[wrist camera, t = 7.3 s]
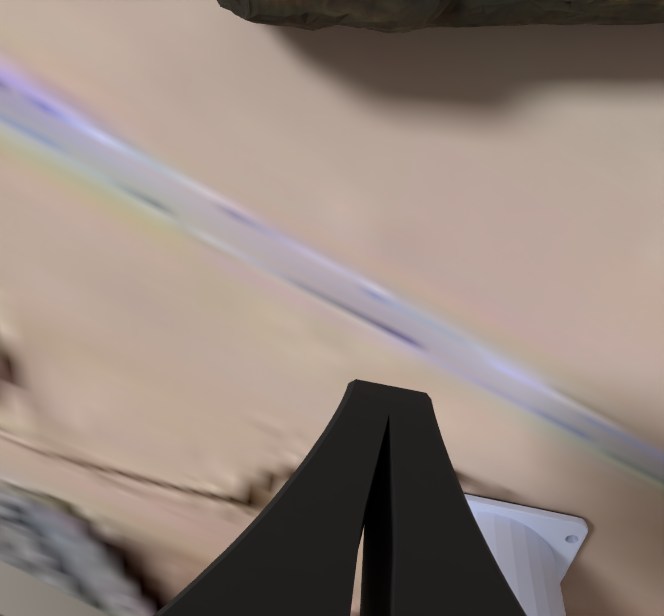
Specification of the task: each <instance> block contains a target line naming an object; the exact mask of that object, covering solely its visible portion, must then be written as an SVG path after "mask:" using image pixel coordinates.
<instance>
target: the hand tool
mask: <svg viewBox="0 0 664 616" xmlns="http://www.w3.org/2000/svg"><path fill="white" fill-rule="evenodd" d="M217 1H218V3H219V5H220V7H223V8H225V9H228V10H230V11H232V12H233V13H234V14H235V15H237V16H239V17H241V18H243V19H245V20H247V21H250V22H253V23H260V24H268V25H276V26H290V27H297V28H302V29H307V30H312V31H313V30H316V29H320V28H324V27H329V26H334V25H338V24H339V25H345V26H351V27H357V28H367V29H372V30H377V31H381V32H407V31H410V30H414V29H420V28H425V27H480V26H500V25H527V24H558V25H573V24H600V25H638V24H653V23H664V0H217Z"/></svg>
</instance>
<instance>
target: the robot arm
mask: <svg viewBox="0 0 664 616" xmlns="http://www.w3.org/2000/svg"><path fill="white" fill-rule="evenodd" d="M363 528H364V541H363V562H362V583H361V604H360V616H566V612H565V607H564V602H563V597H562V592H561V587H560V583H561V581H562V579H563V577H564V576H565V574H566V572H567V570H568V568H569V566H570V565H571V563H572V561H573V559H574V557H575V555H576V554H577V552H578V550H579V548H580V546H581V545H582V543H583V541H584V539H585V537H586V535H587V534H588V527H587V524H586V522H585V521H584V520H583V519H581V518H578V517H574V516H569V515H564V514H560V513H555V512H550V511H545V510H540V509H535V508H530V507H525V506H521V505H516V504H511V503H506V502H501V501H496V500H491V499H487V498H482V497H477V496H472V495H467V494H464V493H463V491H462V488H461V486H460V483H459V481H458V479H457V476H456V474H455V471H454V469H453V466H452V464H451V461H450V459H449V456H448V453H447V450H446V448H445V445H444V442H443V439H442V436H441V433H440V430H439V427H438V424H437V420H436V417H435V413H434V409H433V405H432V401H431V399H430V397H429V396H428V394H427V393H424V392H419V391H414V390H409V389H403V388H398V387H393V386H388V385H383V384H378V383H372V382H367V381H362V380H357V379H356V380H354V381H352V382H350V383H348V386H347V389H346V392H345V394H344V396H343V399H342V401H341V403H340V405H339V407H338V408H337V410H336V412H335V414H334V415H333V417H332V419H331V420H330V422H329V424H328V425H327V427H326V429H325V430H324V432H323V433H322V435H321V436H320V437H319V439H318V440H317V442H316V443H315V445H314V446H313V448H312V449H311V450H310V452H309V453H308V455H307V456H306V458H305V459H304V460H303V462H302V463H301V464H300V466H299V467H298V468H297V470H296V471H295V472H294V473H293V475H292V476H291V477H290V478H289V479H288V481H287V482H286V483H285V484H284V486H283V487H282V488H281V489H280V491H279V492H278V493H277V494H276V496H275V497H274V498H273V499H272V500H271V502H270V503H269V504H268V505H267V506H266V507H265V508H264V510H263V511H262V512H261V513H260V514H259V515H258V516H257V517H256V519H255V520H254V521H253V522H252V523H251V524H250V525H249V526H248V527H247V528H246V529H245V530H244V531H243V532H242V533H241V534H240V536H239V537H238V538H237V539H236V540H235V541H234V542H233V543H232V544H231V545H230V546H229V547H228V548H227V549H226V550H225V551H224V552H223V553H222V554H221V555H220V556H219V557H218V558H217V559H215V560H214V561H213V562H212V563H211V564H210V565H209V566H208V567H207V568H206V569H205V570H204V571H203V572H202V573H201V574H200V575H199V576H198V577H197V578H196V579H195V580H194V581H192V582H191V583H190V584H189V585H188V586H187V587H186V588H185V589H184V590H182V591H181V592H180V593H179V594H178V595H177V596H176V597H175V598H173V599H172V600H171V601H170V602H169V603H168V604H167V605H165V606H164V607H163V608H162V609H161V610H159V611H158V612H157V613H156V614H154V615H153V616H350V612H351V604H352V595H353V587H354V579H355V571H356V562H357V554H358V549H359V544H360V540H361V536H362V532H363ZM570 535H572V536H570Z"/></svg>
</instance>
